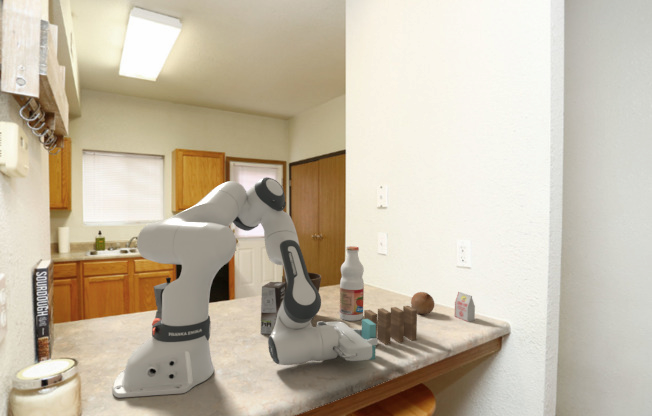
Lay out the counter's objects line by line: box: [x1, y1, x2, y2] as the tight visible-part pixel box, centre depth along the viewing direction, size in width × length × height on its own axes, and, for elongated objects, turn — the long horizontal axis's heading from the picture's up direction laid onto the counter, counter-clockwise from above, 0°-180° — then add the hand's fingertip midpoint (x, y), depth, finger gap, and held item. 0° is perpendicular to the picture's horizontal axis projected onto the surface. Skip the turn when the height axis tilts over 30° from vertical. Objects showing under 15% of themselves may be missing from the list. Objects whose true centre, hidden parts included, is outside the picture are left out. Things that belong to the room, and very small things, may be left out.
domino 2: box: [377, 308, 392, 345], centre depth 109 cm, size 2×5×10 cm, turn 21°
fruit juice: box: [339, 246, 365, 322], centre depth 133 cm, size 9×9×28 cm
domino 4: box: [402, 305, 418, 342], centre depth 113 cm, size 2×5×10 cm, turn 21°
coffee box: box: [260, 281, 286, 335], centre depth 118 cm, size 9×6×16 cm
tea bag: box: [454, 291, 476, 323], centre depth 134 cm, size 4×7×10 cm, turn 22°
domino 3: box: [390, 306, 405, 343], centre depth 111 cm, size 2×5×10 cm, turn 21°
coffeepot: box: [153, 276, 172, 320], centre depth 115 cm, size 15×9×18 cm, turn 14°
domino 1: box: [363, 309, 378, 347], centre depth 107 cm, size 2×5×10 cm, turn 21°
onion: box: [410, 291, 435, 315], centre depth 140 cm, size 10×9×10 cm
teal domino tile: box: [361, 318, 376, 361], centre depth 98 cm, size 2×5×10 cm, turn 21°
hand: (371, 336), depth 99 cm, fingers closed on teal domino tile, 5 cm apart
